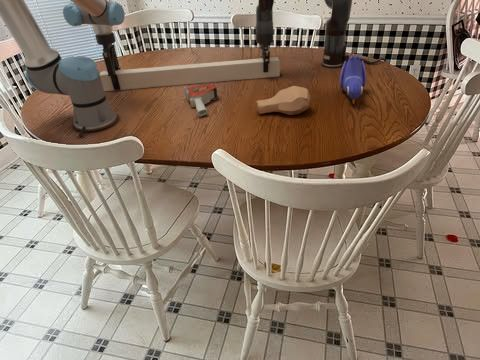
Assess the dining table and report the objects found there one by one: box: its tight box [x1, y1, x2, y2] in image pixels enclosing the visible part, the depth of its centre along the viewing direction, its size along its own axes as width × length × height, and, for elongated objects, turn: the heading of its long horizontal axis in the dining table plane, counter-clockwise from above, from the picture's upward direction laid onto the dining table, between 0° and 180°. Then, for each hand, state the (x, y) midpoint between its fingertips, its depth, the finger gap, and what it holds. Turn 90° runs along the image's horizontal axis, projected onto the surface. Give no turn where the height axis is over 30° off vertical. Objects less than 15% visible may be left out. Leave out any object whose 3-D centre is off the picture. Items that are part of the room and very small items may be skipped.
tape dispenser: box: [183, 82, 218, 117], centre depth 140 cm, size 18×5×20 cm
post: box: [99, 56, 281, 92], centre depth 160 cm, size 80×5×7 cm, turn 95°
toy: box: [339, 55, 367, 105], centre depth 136 cm, size 10×17×25 cm
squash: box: [255, 85, 312, 116], centre depth 130 cm, size 11×20×9 cm, turn 92°
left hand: (118, 86), depth 161 cm, fingers closed on post, 5 cm apart
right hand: (264, 69), depth 162 cm, fingers closed on post, 5 cm apart
